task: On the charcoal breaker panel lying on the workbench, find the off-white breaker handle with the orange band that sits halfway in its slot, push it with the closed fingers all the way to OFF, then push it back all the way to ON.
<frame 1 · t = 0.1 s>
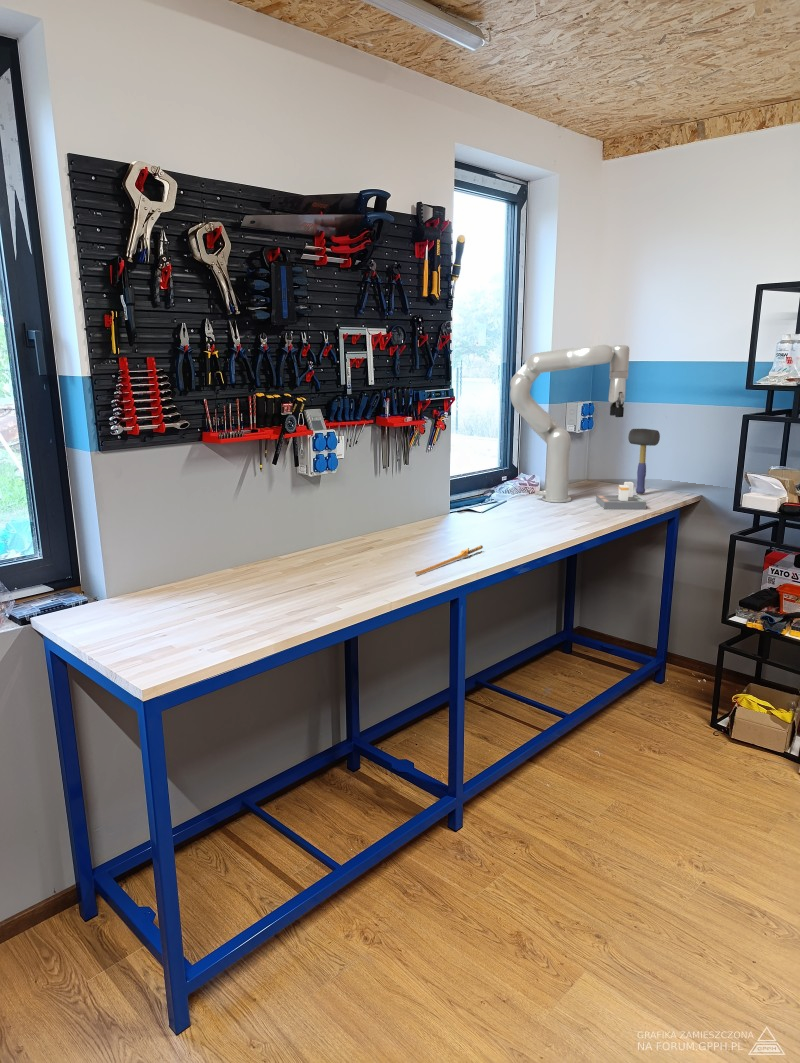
hand: (616, 416, 308), 37 cm above the table, tool pointing down, fingers open, 9 cm apart
tripped breaker: (623, 492, 300), point 6 cm above the table, slide at 4.0 cm
rubber mallet: (640, 495, 330), on the table
breaker panel: (620, 505, 305), on the table
katana: (450, 564, 221), on the table
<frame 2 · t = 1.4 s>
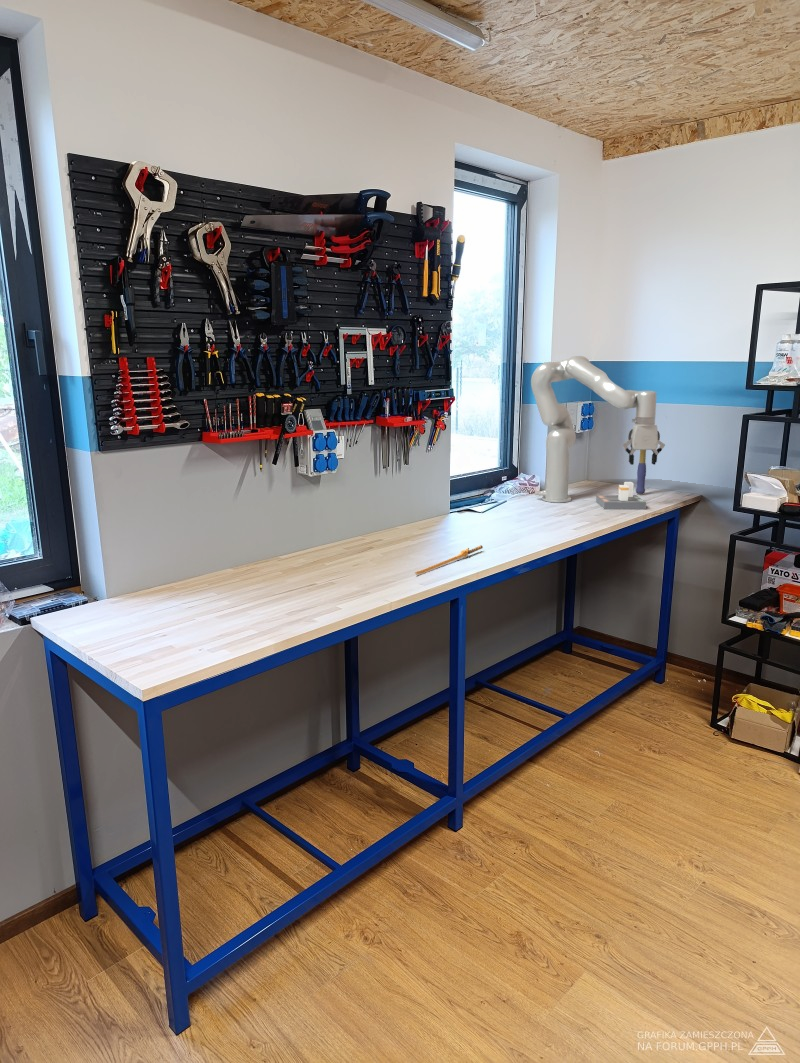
hand: (642, 464, 297), 18 cm above the table, tool pointing down, fingers open, 8 cm apart
nothing on the table moved.
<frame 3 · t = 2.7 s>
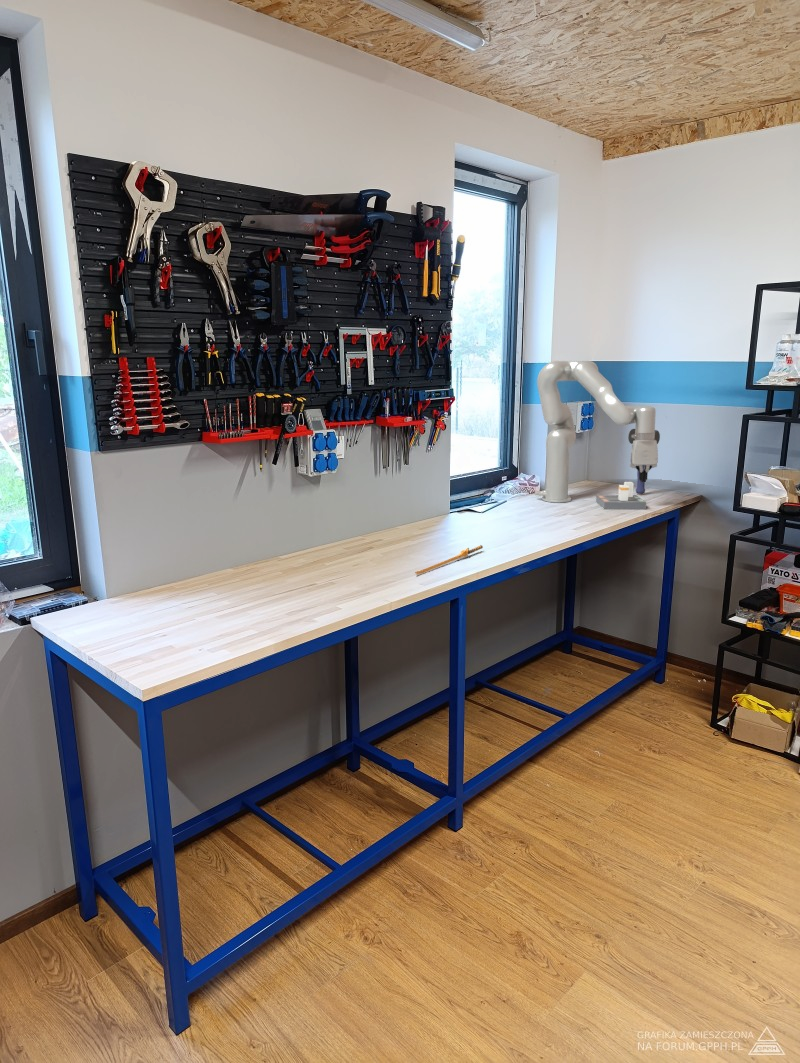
hand: (643, 481, 298), 11 cm above the table, tool pointing down, fingers closed
nothing on the table moved.
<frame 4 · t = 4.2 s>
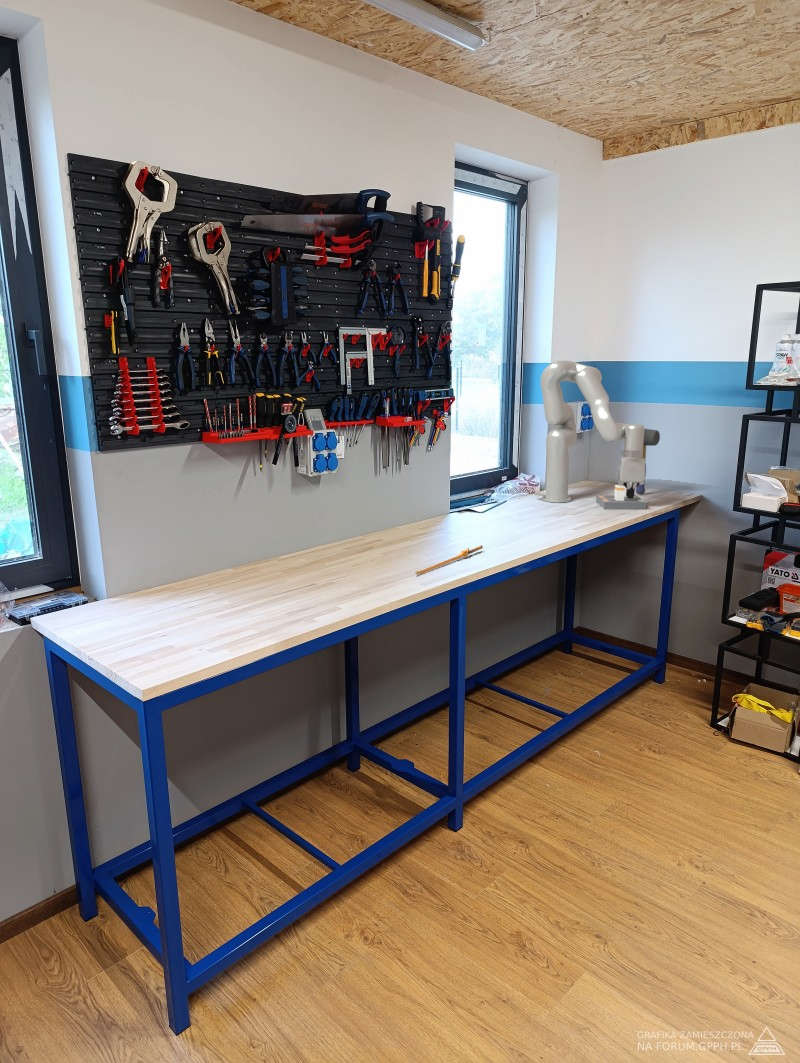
hand: (630, 498, 300), 4 cm above the table, tool pointing down, fingers closed
tripped breaker: (619, 492, 300), point 6 cm above the table, slide at 2.3 cm, touching gripper
everything else where it was.
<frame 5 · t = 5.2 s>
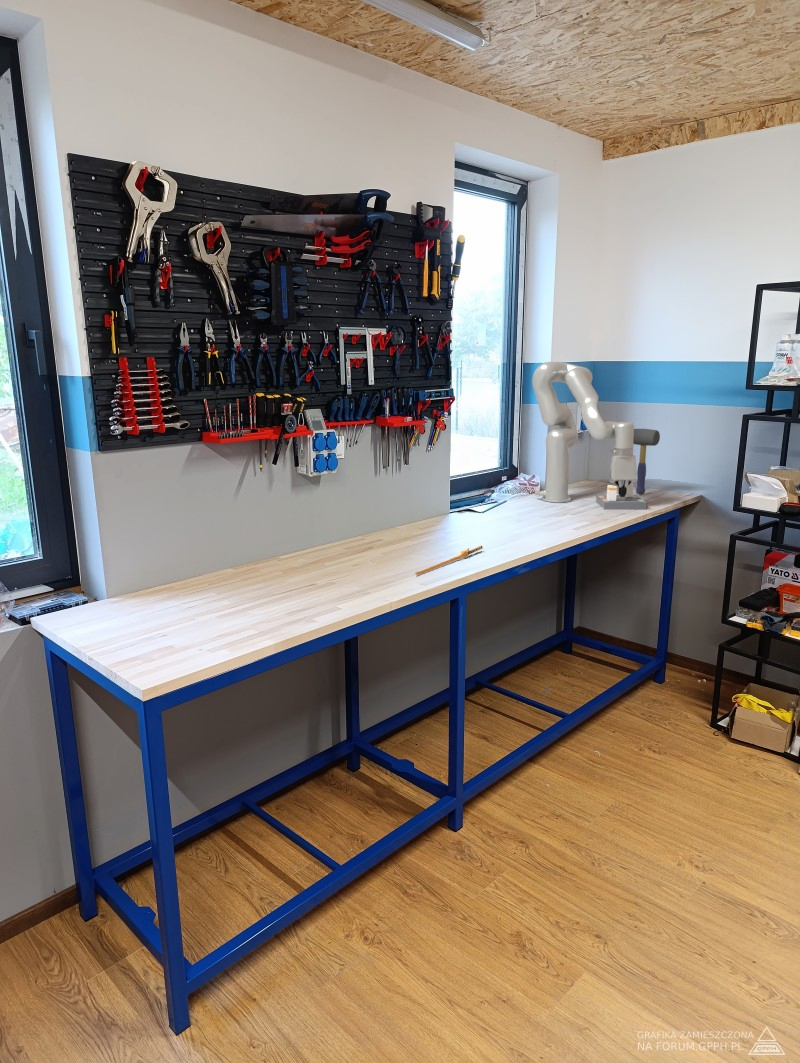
hand: (622, 496, 300), 5 cm above the table, tool pointing down, fingers closed
tripped breaker: (611, 492, 300), point 6 cm above the table, slide at -0.8 cm, touching gripper
everything else where it was.
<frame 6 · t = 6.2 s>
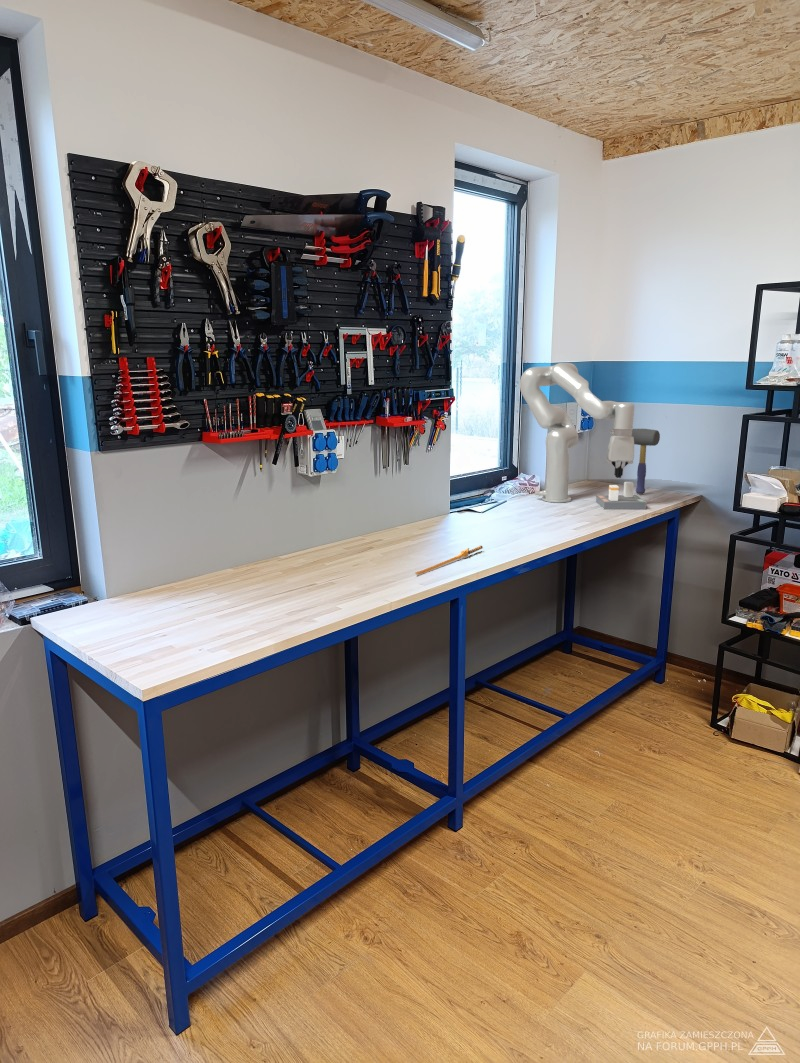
hand: (618, 477, 299), 13 cm above the table, tool pointing down, fingers closed
tripped breaker: (613, 492, 300), point 6 cm above the table, slide at -0.1 cm
everything else where it was.
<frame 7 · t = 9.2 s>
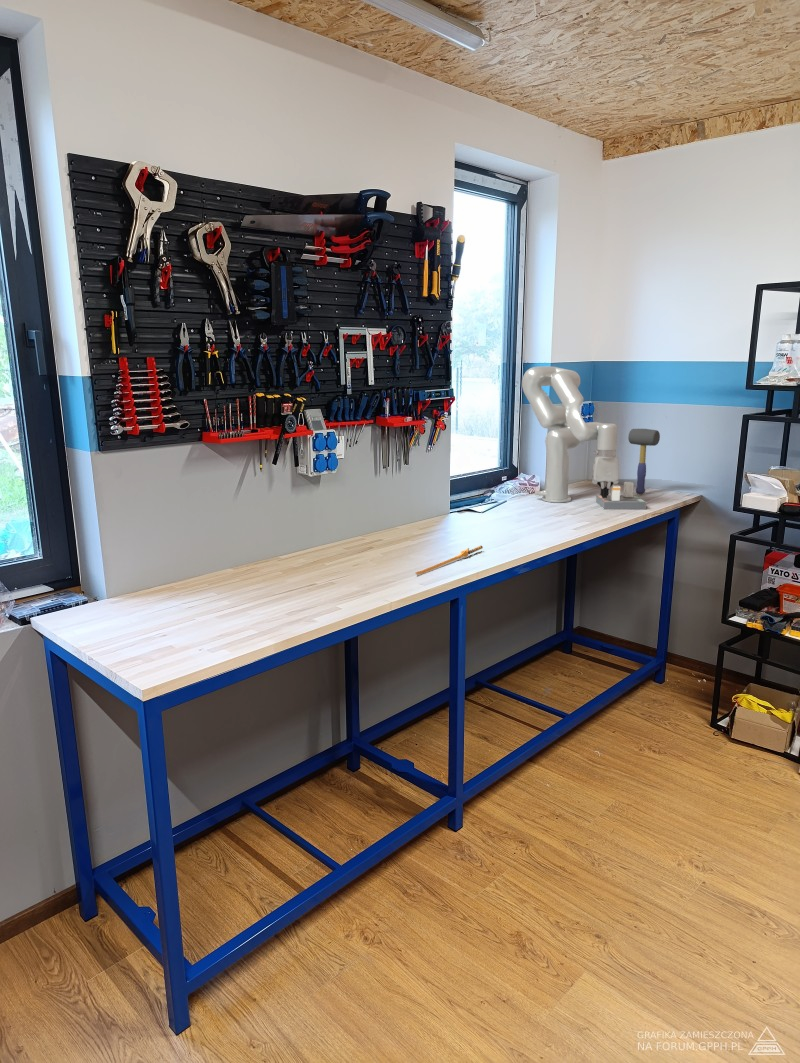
hand: (604, 497, 301), 4 cm above the table, tool pointing down, fingers closed
tripped breaker: (615, 492, 300), point 6 cm above the table, slide at 0.6 cm, touching gripper
everything else where it was.
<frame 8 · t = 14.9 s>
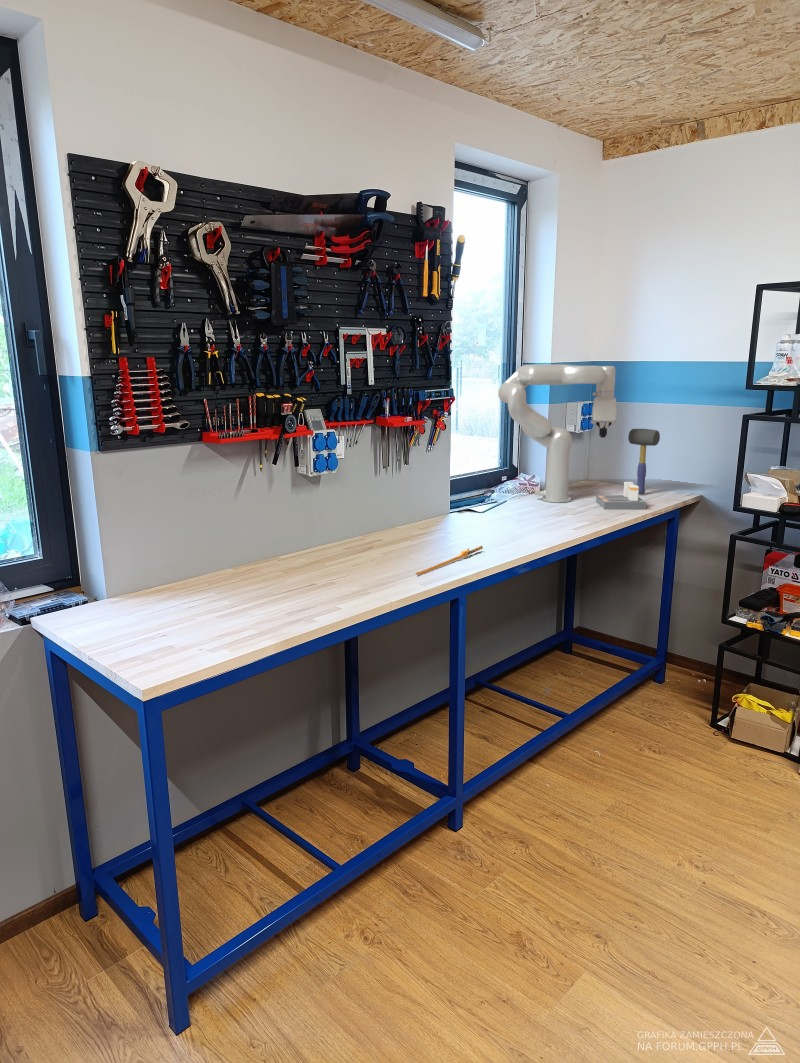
hand: (602, 437, 317), 27 cm above the table, tool pointing down, fingers closed
tripped breaker: (633, 492, 300), point 6 cm above the table, slide at 8.1 cm
everything else where it was.
at the end: tripped breaker slide at 8.1 cm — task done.
